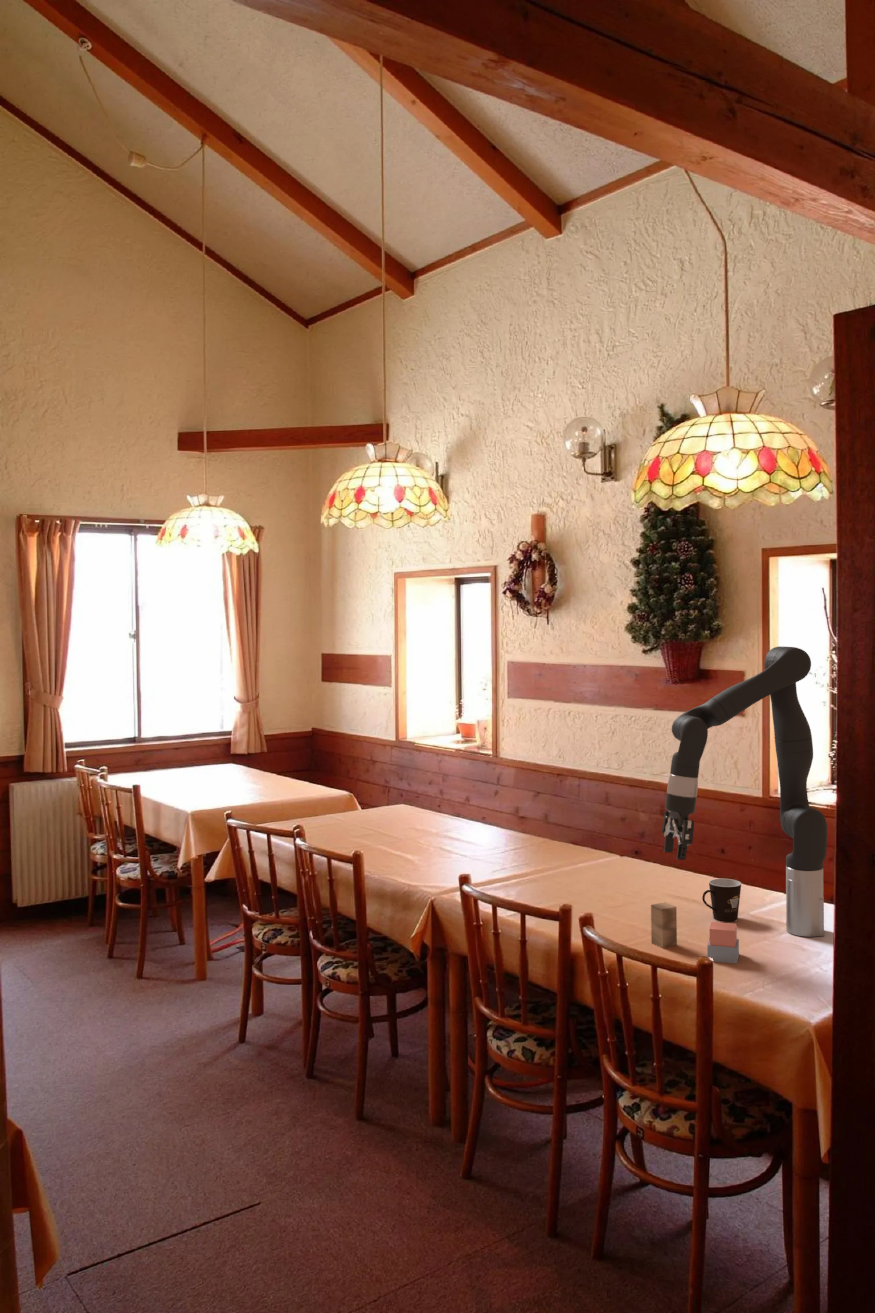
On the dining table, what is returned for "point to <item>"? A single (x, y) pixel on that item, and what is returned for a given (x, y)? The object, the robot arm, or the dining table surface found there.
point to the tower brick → (723, 934)
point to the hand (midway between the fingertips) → (674, 855)
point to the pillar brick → (664, 925)
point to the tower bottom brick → (723, 953)
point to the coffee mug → (724, 899)
